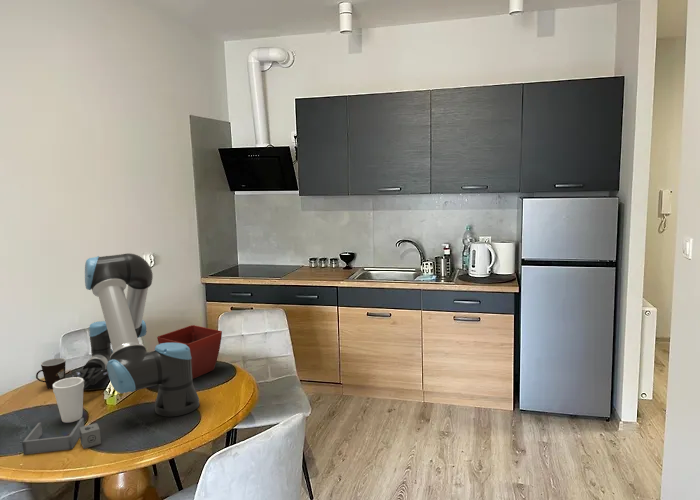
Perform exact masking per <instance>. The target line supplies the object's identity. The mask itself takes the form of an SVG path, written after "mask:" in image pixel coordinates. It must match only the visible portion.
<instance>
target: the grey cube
mask: <svg viewBox="0 0 700 500" xmlns="http://www.w3.org/2000/svg"><path fill="white" fill-rule="evenodd" d="M79 429H80V438H79V439H80V444H81V445H82V448H83V449H84V450H85V449H87V448H91V447H96V446H98V445H99V446H100V445H101V444H102V438H101V428H100V427H99V424H98V423H97V422H95V423H92V424H88V425H84V426H83V427H79Z"/></svg>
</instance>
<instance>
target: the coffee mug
mask: <svg viewBox="0 0 700 500" xmlns="http://www.w3.org/2000/svg"><path fill="white" fill-rule="evenodd" d="M40 366H41V369H40V370H38V371H36V374H35V378H36V380H37V381H39V382H41V383H45V385H46V388H47V389H48V390H53V384H54V383H55V382H57V381H59V380H62V379H66V358H62V357H60V358H59V357H56V358H51V359H47V360H44V361H43V362H41V363H40ZM41 372H42V374H43V378H44V380H43V379H40V378H39V374H40V373H41Z"/></svg>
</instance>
